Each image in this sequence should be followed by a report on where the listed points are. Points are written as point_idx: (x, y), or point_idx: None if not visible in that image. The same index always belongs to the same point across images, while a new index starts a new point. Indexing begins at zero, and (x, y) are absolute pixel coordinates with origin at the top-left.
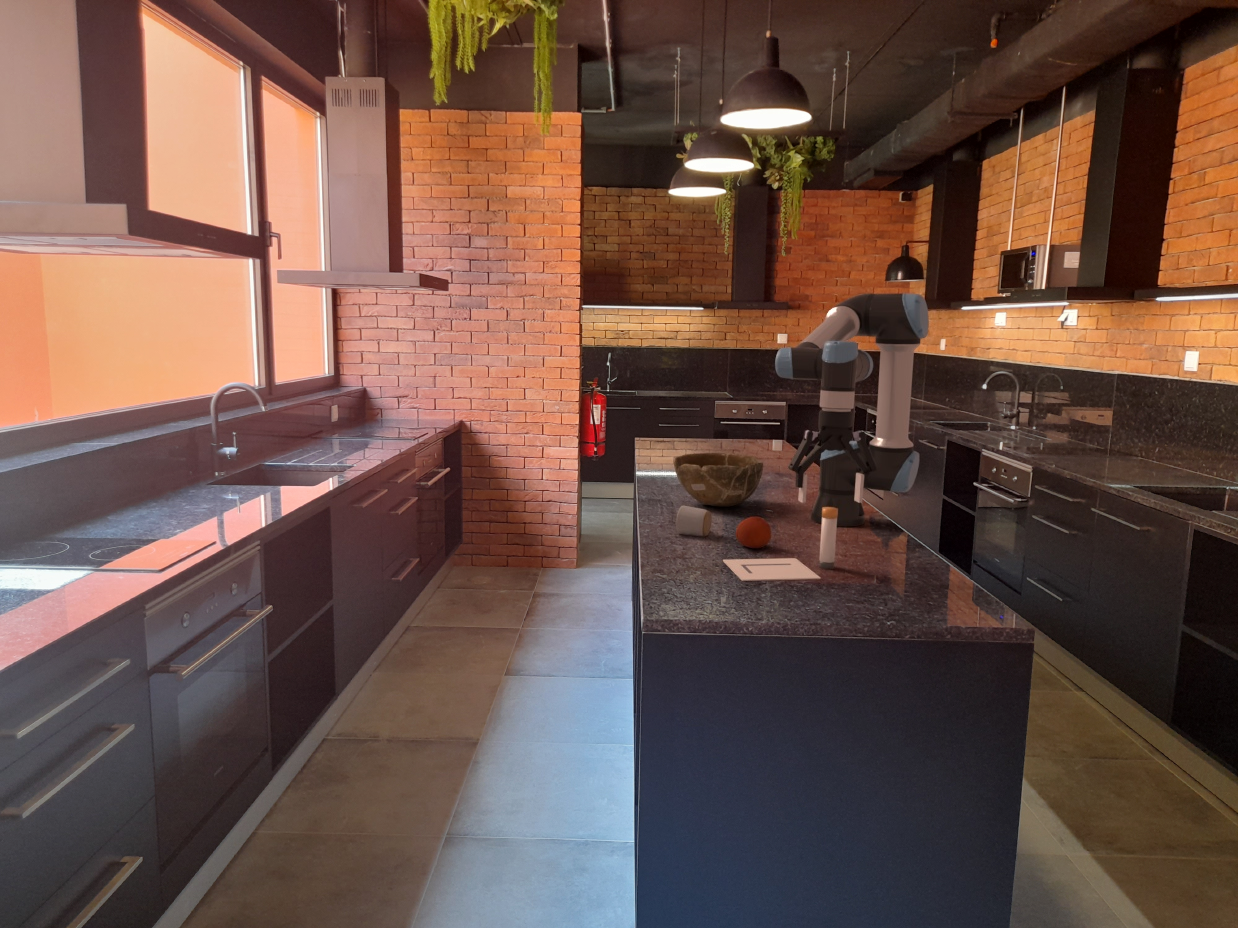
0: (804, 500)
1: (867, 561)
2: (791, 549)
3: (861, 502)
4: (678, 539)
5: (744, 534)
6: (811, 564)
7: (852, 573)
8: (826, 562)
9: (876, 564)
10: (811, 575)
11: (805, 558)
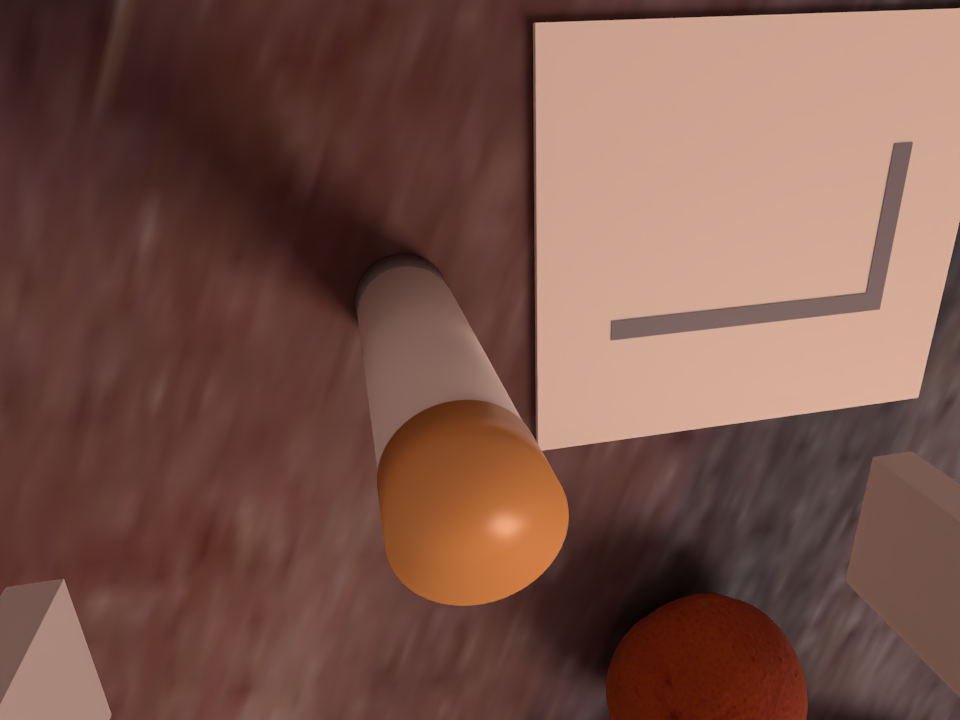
0: (914, 471)
1: (80, 440)
2: (489, 623)
3: (19, 585)
4: (930, 696)
5: (785, 637)
6: None
7: (264, 158)
8: (425, 268)
9: (27, 376)
10: (576, 82)
11: None
